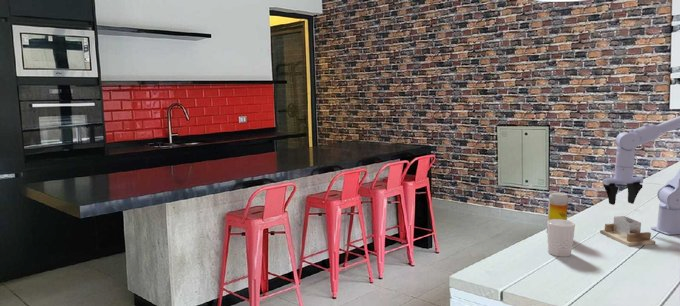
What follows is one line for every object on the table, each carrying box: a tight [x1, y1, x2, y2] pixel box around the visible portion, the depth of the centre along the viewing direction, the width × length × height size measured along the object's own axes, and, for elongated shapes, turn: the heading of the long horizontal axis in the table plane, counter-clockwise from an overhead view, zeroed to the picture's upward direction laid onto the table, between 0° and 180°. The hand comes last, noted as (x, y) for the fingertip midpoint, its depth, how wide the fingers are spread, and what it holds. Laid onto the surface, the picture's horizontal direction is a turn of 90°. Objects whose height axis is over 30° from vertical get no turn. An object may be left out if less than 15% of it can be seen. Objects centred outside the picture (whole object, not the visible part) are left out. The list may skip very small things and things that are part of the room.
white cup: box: [547, 219, 576, 258], centre depth 165 cm, size 8×8×10 cm
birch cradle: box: [599, 223, 656, 247], centre depth 180 cm, size 10×14×4 cm
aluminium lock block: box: [612, 215, 642, 238], centre depth 180 cm, size 4×8×6 cm, turn 10°
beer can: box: [546, 191, 569, 235], centre depth 182 cm, size 6×6×15 cm
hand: (621, 203), depth 189 cm, fingers open, 7 cm apart
